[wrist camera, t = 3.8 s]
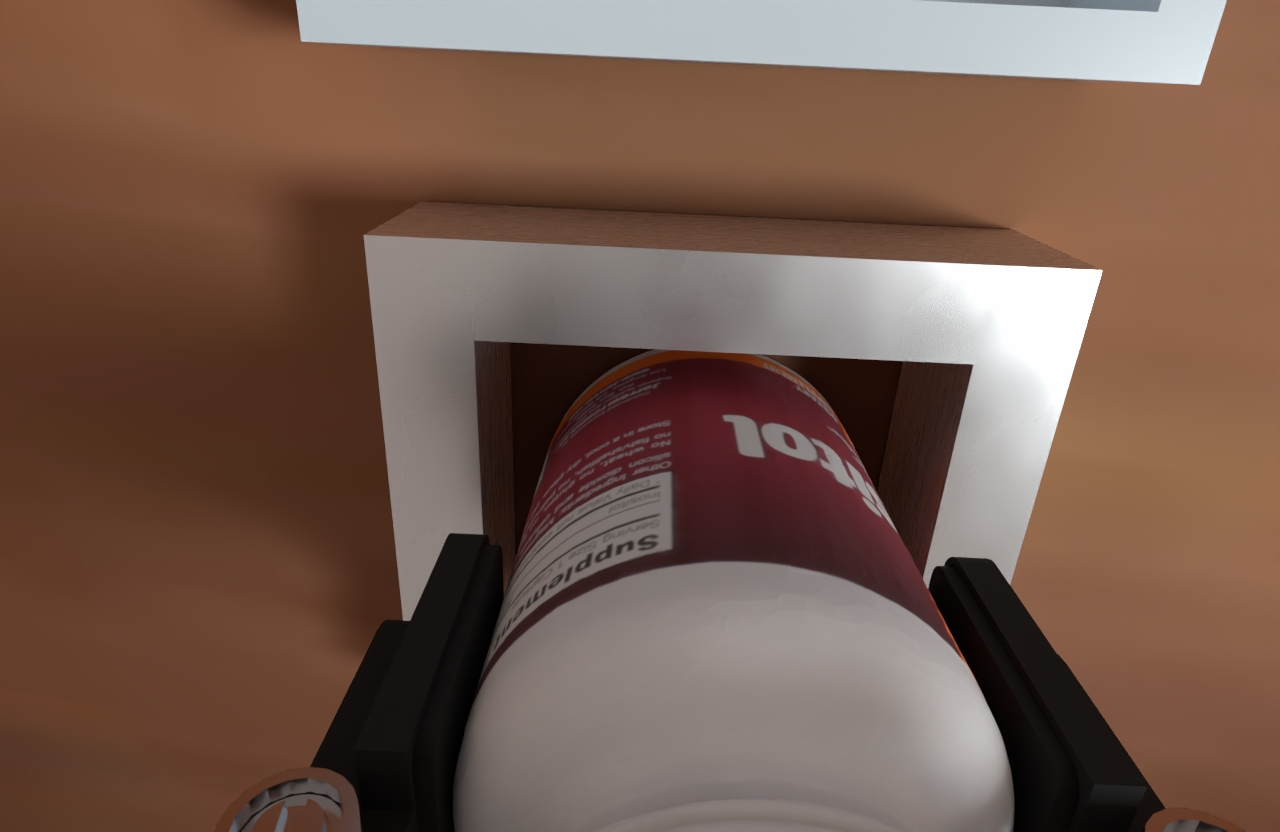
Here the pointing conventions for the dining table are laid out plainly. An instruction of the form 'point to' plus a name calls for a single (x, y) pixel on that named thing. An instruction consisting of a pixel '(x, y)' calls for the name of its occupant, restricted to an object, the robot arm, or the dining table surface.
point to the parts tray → (807, 33)
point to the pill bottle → (720, 630)
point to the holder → (723, 349)
